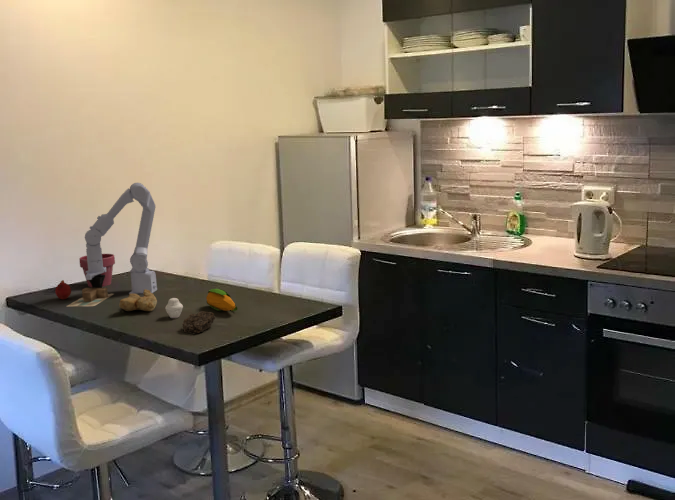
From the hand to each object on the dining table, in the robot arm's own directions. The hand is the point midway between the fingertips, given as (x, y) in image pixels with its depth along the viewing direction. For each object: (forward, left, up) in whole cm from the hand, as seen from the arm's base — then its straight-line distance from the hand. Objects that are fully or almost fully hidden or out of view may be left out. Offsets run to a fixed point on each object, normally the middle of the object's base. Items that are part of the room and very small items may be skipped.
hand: (98, 293), depth 291 cm
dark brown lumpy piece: (-54, +43, -2) cm, 69 cm away
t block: (0, +6, -1) cm, 6 cm away
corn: (-56, +20, -2) cm, 60 cm away
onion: (+12, +5, -2) cm, 13 cm away
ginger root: (-25, +20, -2) cm, 32 cm away
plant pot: (+8, -19, -2) cm, 21 cm away
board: (0, +7, -1) cm, 7 cm away
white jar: (-41, +29, -2) cm, 50 cm away
